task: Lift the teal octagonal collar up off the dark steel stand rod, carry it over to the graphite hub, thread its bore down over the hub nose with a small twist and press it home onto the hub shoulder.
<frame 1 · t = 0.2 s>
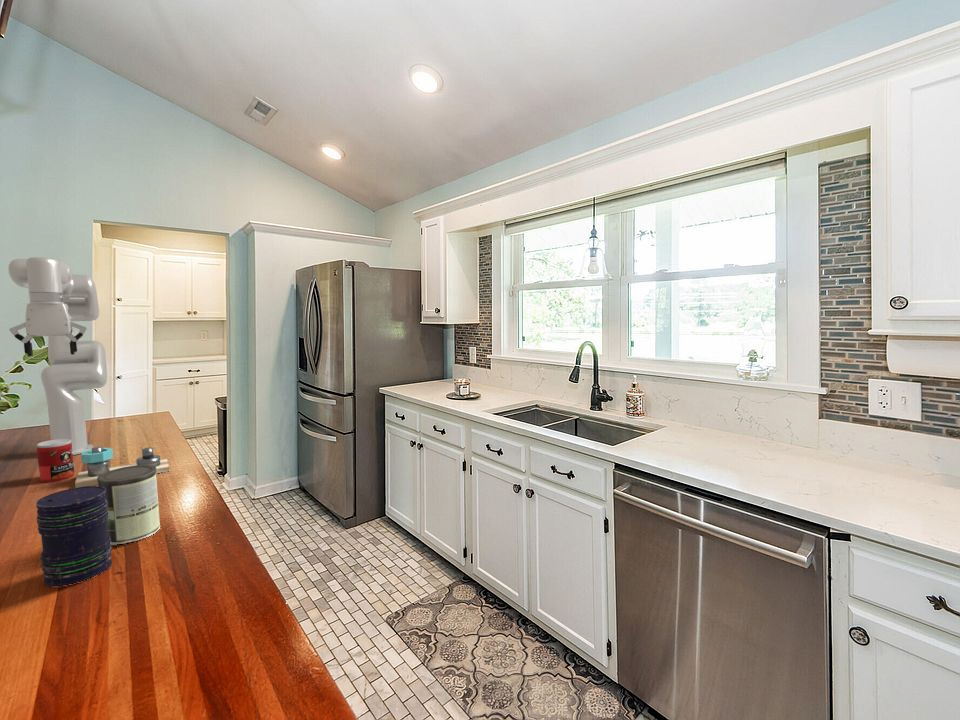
hand: (52, 355, 141), 36 cm above the countertop, tool pointing down, fingers open, 9 cm apart
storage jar: (79, 573, 87), on the countertop
stand: (99, 478, 137), resting on base board
base board: (125, 474, 140), on the countertop
teal octagonal collar: (97, 459, 136), point 6 cm above the countertop, touching stand
coffee can: (132, 535, 102), on the countertop
hub: (149, 470, 144), resting on base board
canned food: (57, 478, 138), on the countertop
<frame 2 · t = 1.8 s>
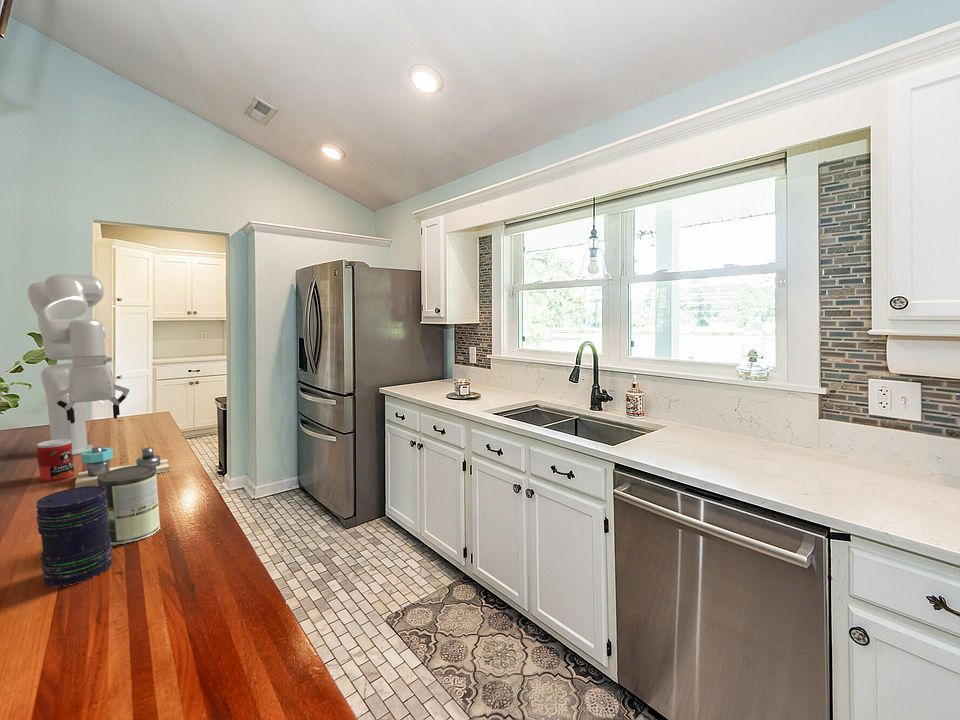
hand: (94, 420, 135), 18 cm above the countertop, tool pointing down, fingers open, 9 cm apart
nothing on the countertop moved.
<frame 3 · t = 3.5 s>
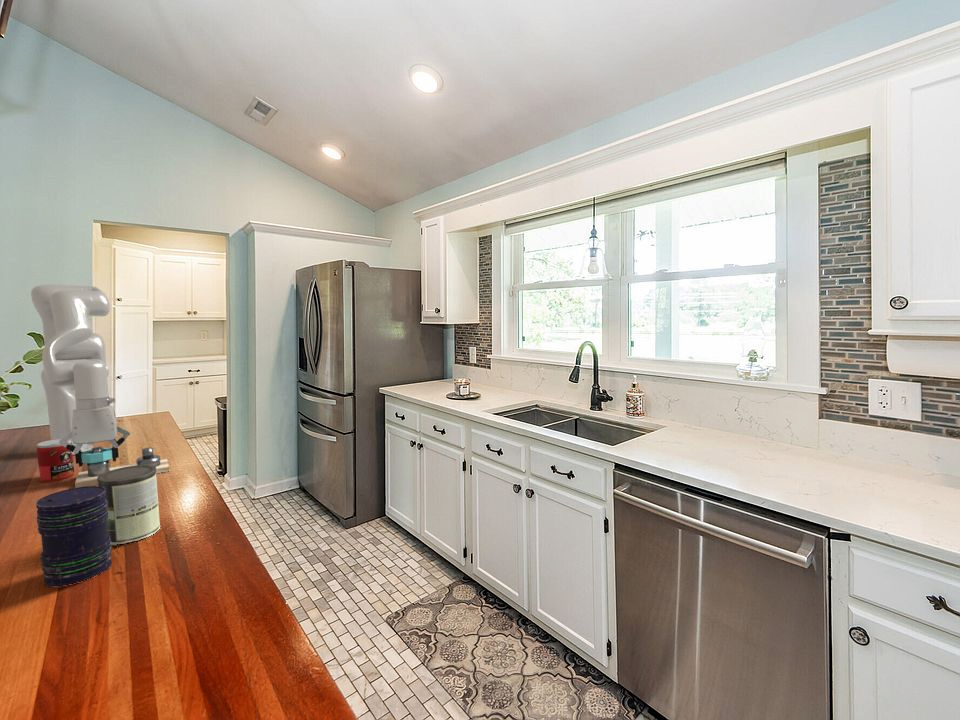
hand: (98, 462, 136), 5 cm above the countertop, tool pointing down, fingers closed on teal octagonal collar, 7 cm apart
teal octagonal collar: (97, 459, 136), point 6 cm above the countertop, touching gripper, stand
everything else where it was.
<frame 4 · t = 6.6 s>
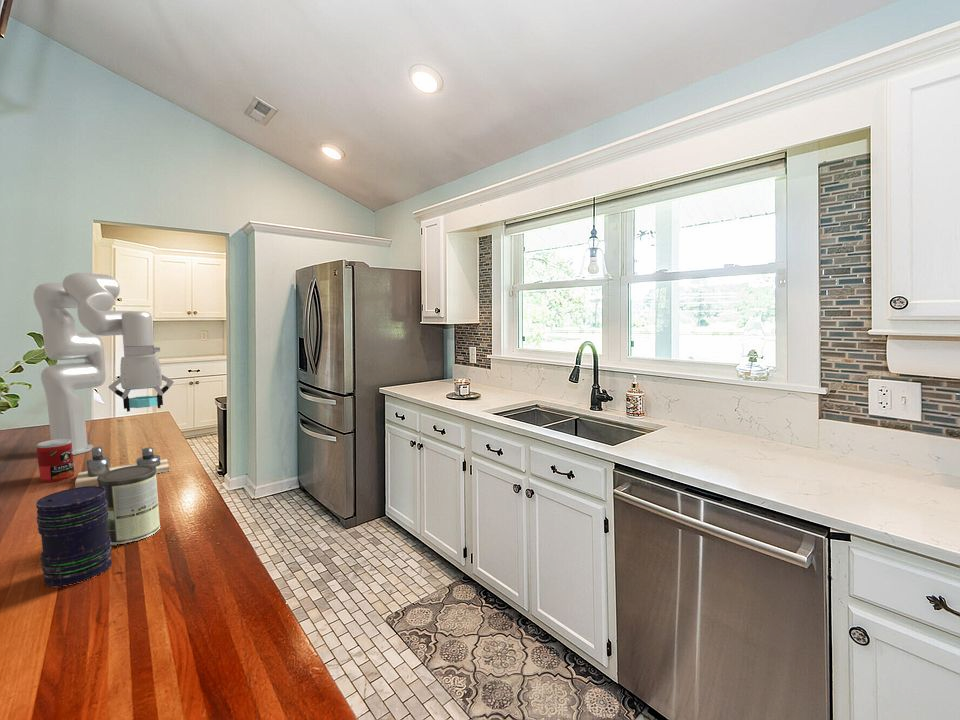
hand: (144, 408, 142), 20 cm above the countertop, tool pointing down, fingers closed on teal octagonal collar, 7 cm apart
teal octagonal collar: (143, 405, 142), point 21 cm above the countertop, touching gripper
everything else where it was.
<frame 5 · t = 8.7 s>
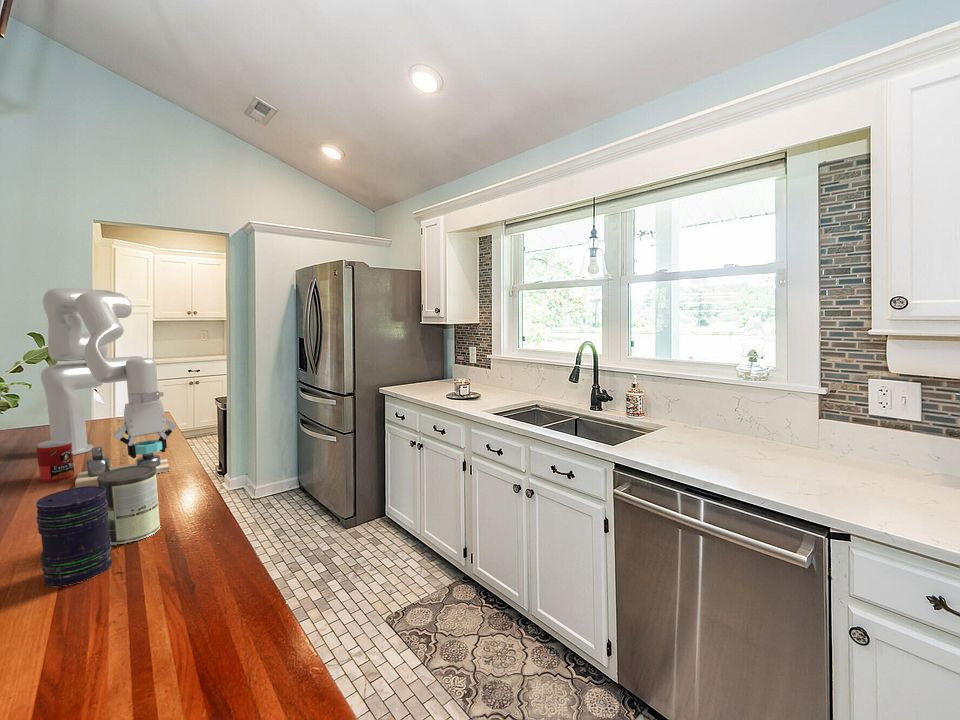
hand: (148, 453, 143), 5 cm above the countertop, tool pointing down, fingers closed on teal octagonal collar, 7 cm apart
teal octagonal collar: (147, 450, 143), point 6 cm above the countertop, touching gripper
everything else where it was.
when the fingers open (3 cm above the countertop, at t = 10.0 s): teal octagonal collar stays where it is, resting on hub.
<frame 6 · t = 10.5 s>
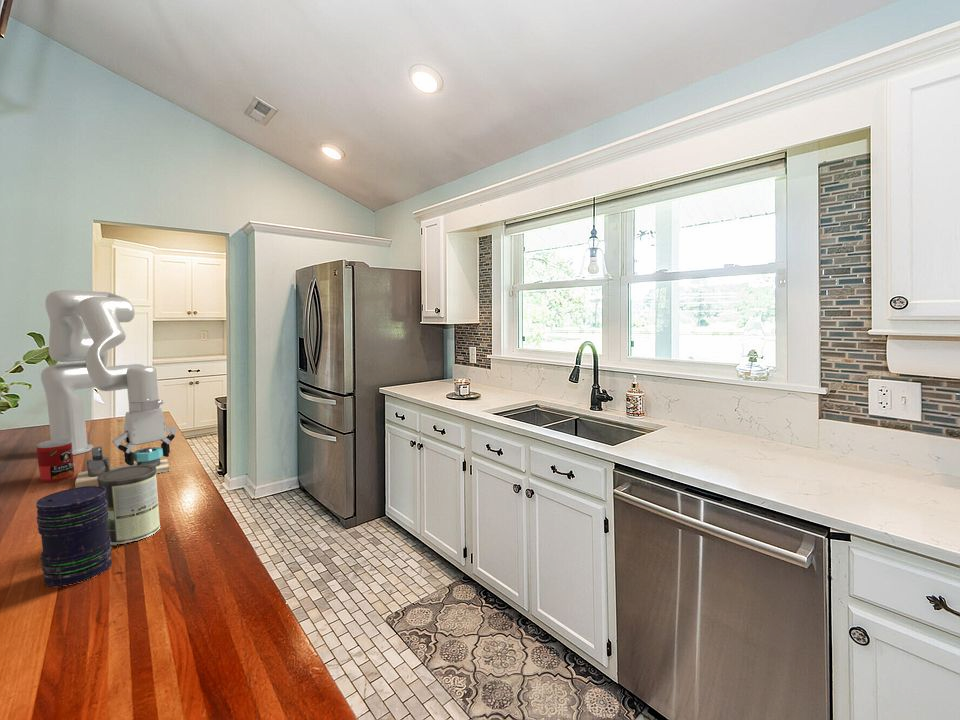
hand: (148, 460, 144), 3 cm above the countertop, tool pointing down, fingers open, 9 cm apart
teal octagonal collar: (148, 458, 143), point 4 cm above the countertop, touching hub
everything else where it was.
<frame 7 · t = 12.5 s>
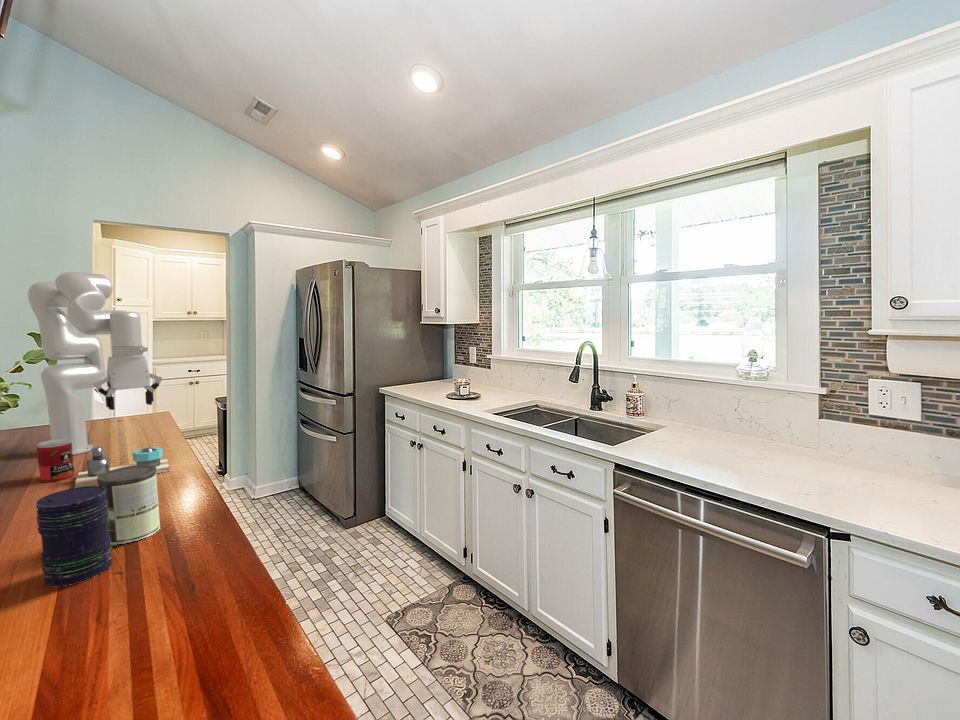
hand: (130, 406, 143), 20 cm above the countertop, tool pointing down, fingers open, 9 cm apart
nothing on the countertop moved.
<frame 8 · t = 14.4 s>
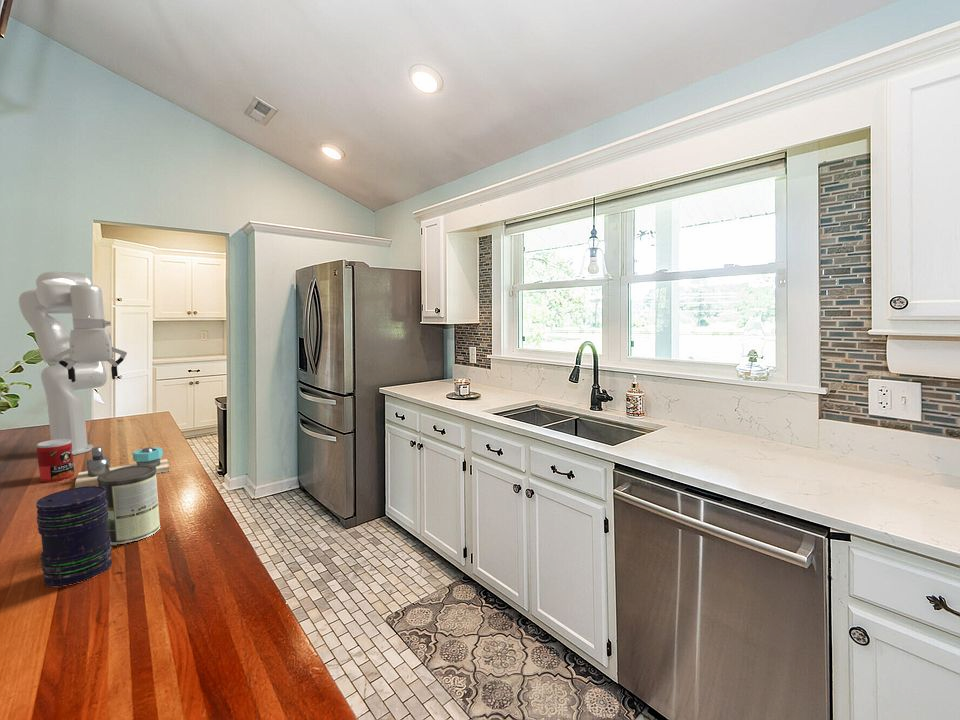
hand: (94, 380, 144), 28 cm above the countertop, tool pointing down, fingers open, 9 cm apart
nothing on the countertop moved.
at the end: teal octagonal collar 0.1 cm off-centre on the hub, point 4.0 cm above the hub's base; teal octagonal collar tilted 0°; the gripper is holding nothing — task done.
